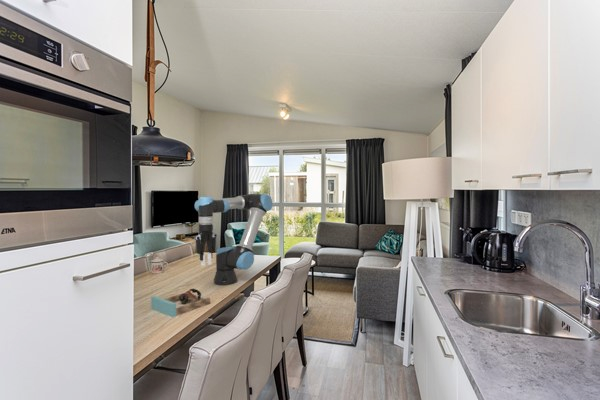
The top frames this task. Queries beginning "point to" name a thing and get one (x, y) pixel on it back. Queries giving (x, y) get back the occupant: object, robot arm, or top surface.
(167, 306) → the end stop
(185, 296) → the pottery mug
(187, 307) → the channel
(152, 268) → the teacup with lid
